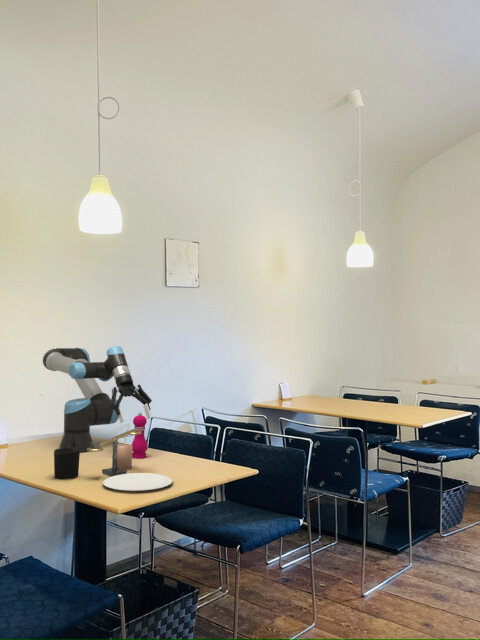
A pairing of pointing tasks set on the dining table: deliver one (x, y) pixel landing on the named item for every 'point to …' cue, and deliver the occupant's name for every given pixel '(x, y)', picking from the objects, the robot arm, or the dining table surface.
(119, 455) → the tan boxy piece
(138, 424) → the pepper mill
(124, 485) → the plate
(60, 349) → the robot arm
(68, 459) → the pen holder
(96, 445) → the balance
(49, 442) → the dining table surface
